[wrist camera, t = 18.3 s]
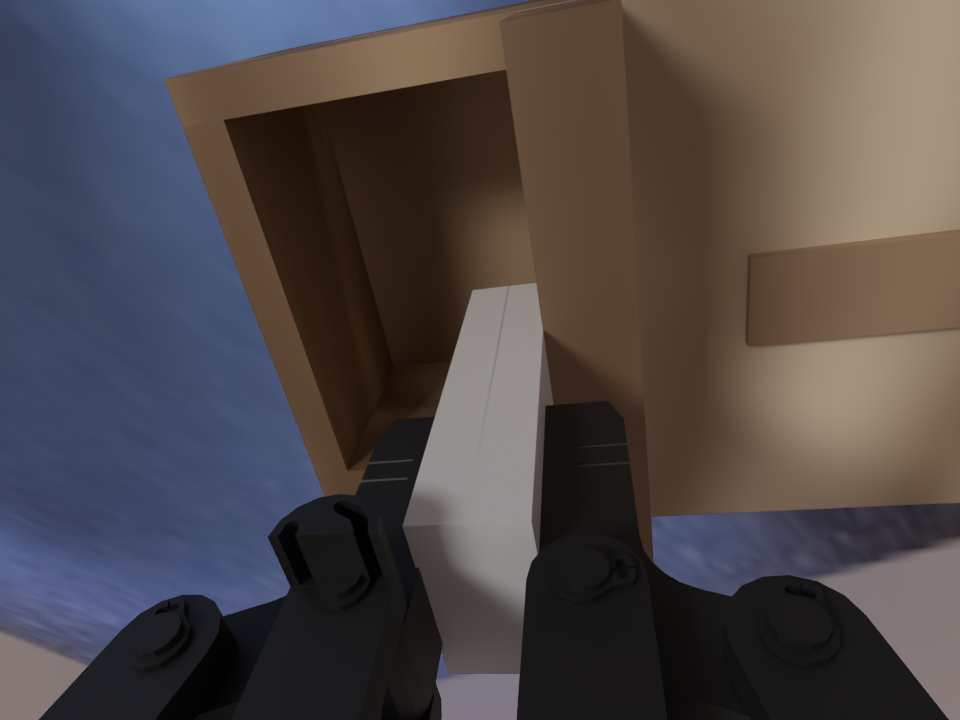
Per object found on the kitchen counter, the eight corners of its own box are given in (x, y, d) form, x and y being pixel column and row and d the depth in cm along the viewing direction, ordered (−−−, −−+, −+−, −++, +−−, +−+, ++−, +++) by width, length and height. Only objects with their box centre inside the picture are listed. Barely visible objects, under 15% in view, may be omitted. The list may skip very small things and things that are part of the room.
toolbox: (381, 377, 26) (325, 498, 20) (285, 49, 20) (164, 79, 14) (872, 332, 22) (986, 461, 16) (932, -78, 16) (1143, -112, 10)
